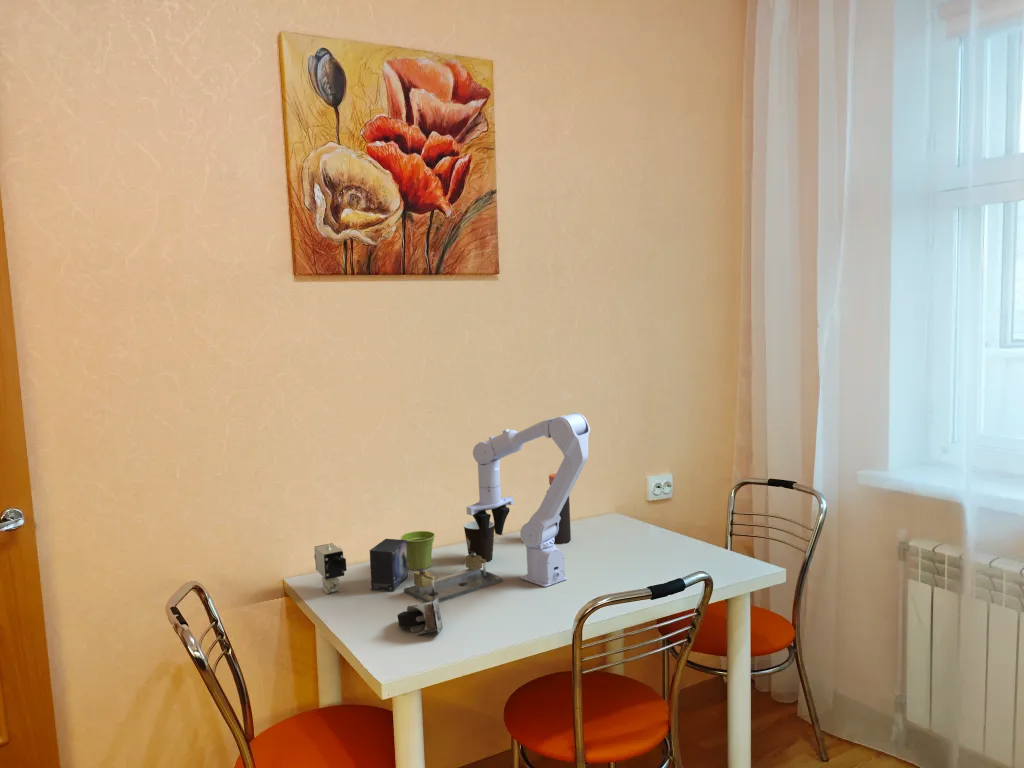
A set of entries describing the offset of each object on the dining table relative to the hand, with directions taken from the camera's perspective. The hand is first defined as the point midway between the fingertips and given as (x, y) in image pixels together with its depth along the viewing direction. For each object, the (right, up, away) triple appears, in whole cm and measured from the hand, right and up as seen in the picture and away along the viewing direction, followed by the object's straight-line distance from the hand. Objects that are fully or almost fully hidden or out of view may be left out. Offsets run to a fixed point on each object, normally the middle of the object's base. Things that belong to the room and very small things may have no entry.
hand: (492, 536), depth 197 cm
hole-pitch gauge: (-9, -11, -10) cm, 17 cm away
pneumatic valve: (-40, -12, -9) cm, 43 cm away
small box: (-26, -11, -6) cm, 29 cm away
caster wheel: (-15, -13, -35) cm, 40 cm away
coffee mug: (-3, -9, +12) cm, 15 cm away
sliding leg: (-4, -9, -5) cm, 10 cm away
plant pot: (-20, -10, +7) cm, 23 cm away
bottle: (+20, -7, +25) cm, 33 cm away
